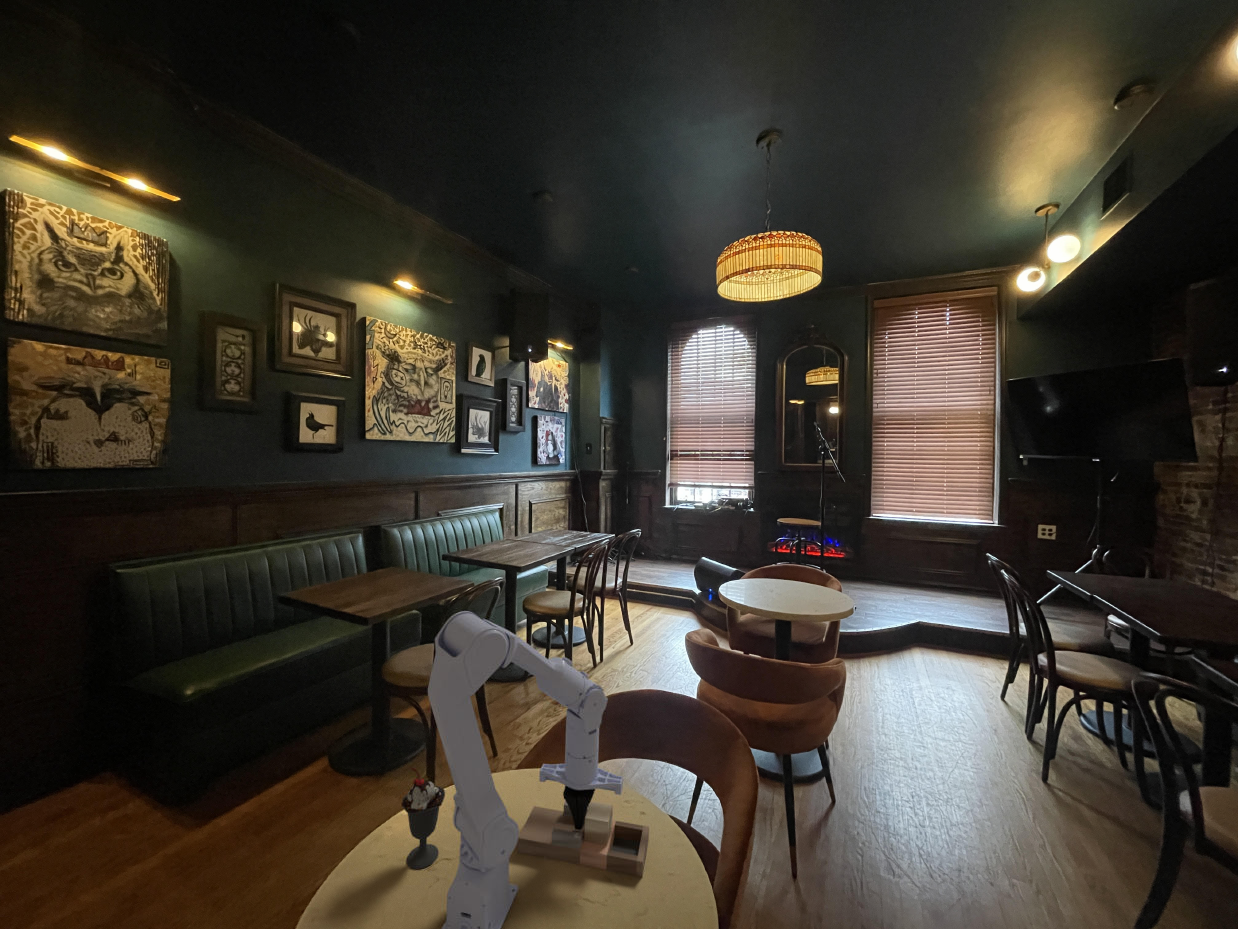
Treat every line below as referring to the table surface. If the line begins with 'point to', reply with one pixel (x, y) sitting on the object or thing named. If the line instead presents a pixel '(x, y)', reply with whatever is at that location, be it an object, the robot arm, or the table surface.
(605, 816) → the block
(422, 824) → the sundae
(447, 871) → the table surface
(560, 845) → the wooden stepped tray
